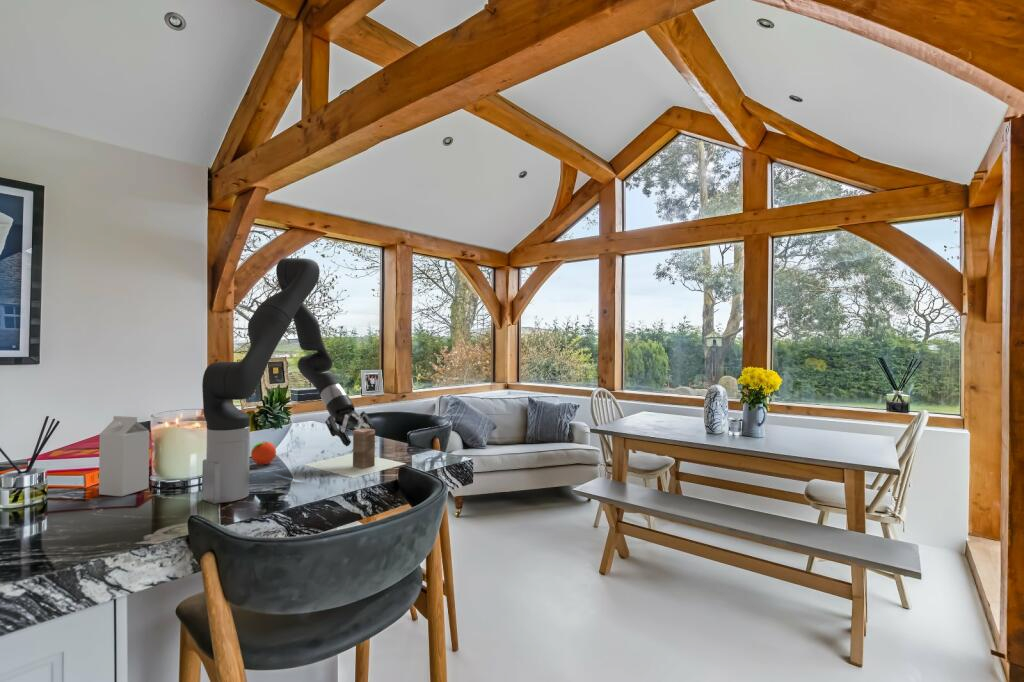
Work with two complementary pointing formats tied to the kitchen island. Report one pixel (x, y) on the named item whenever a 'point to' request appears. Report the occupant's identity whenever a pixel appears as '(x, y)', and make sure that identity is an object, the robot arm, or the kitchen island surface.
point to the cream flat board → (345, 466)
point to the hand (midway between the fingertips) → (360, 442)
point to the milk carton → (123, 457)
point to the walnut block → (363, 448)
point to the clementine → (263, 453)
